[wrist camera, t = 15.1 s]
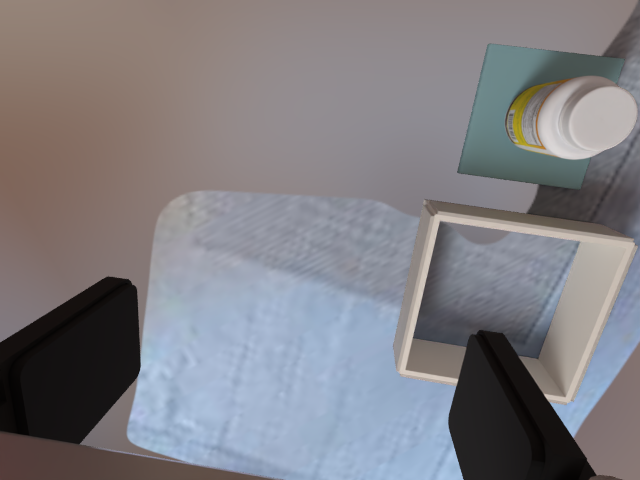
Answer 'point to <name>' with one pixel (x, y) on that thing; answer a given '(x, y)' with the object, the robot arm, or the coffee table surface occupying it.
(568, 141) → the supplement bottle
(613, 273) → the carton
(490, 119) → the mat
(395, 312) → the coffee table surface
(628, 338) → the coffee table surface
